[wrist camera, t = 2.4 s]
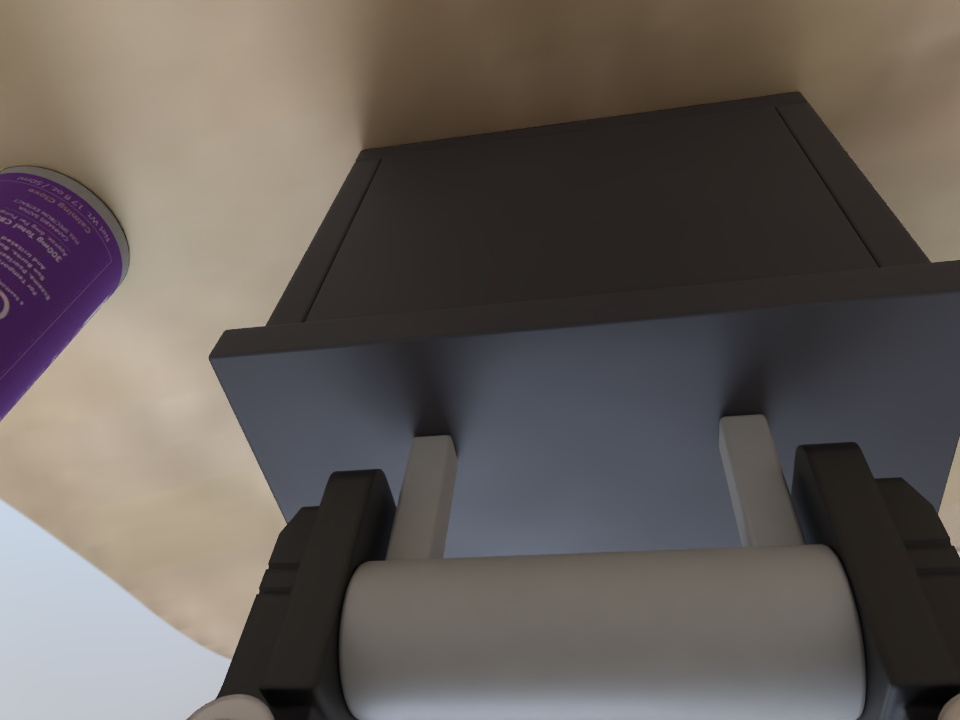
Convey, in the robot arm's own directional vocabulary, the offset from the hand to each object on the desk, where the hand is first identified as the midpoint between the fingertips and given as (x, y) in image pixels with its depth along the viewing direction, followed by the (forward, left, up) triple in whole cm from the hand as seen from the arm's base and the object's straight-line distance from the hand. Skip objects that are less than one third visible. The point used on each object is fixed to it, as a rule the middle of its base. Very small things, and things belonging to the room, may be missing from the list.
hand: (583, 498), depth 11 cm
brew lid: (+5, +1, -2) cm, 5 cm away
